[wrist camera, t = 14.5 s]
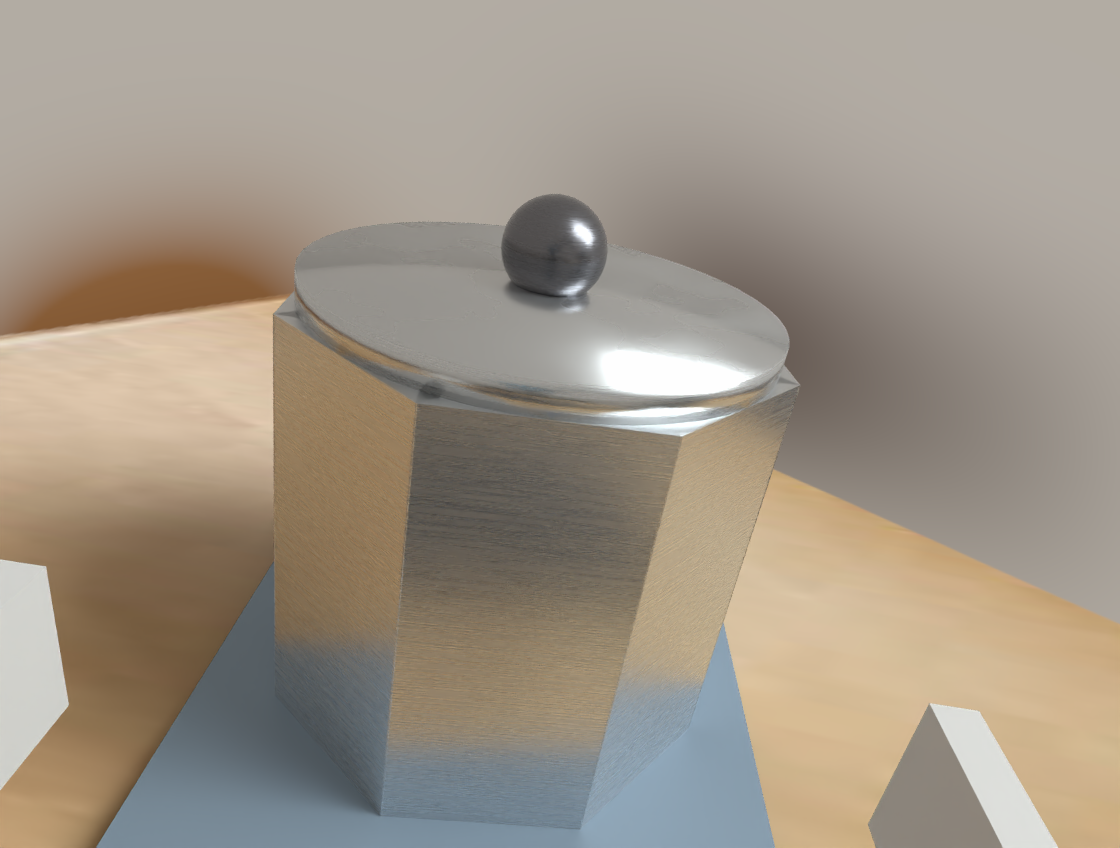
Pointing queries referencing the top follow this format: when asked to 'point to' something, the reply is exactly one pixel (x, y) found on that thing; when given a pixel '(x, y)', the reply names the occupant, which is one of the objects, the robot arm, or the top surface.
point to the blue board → (393, 842)
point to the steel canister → (510, 505)
